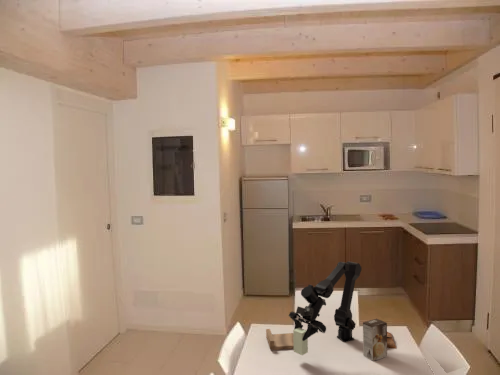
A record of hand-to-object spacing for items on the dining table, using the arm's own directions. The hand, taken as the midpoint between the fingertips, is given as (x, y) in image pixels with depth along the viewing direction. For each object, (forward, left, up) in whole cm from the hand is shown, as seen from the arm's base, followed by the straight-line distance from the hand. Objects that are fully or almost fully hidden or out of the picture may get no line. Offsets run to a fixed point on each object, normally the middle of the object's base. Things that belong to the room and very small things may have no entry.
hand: (298, 338), depth 175 cm
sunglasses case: (-51, +2, -12) cm, 52 cm away
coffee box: (-34, +12, -11) cm, 38 cm away
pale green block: (-1, 0, -7) cm, 7 cm away
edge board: (-4, -20, -11) cm, 23 cm away
